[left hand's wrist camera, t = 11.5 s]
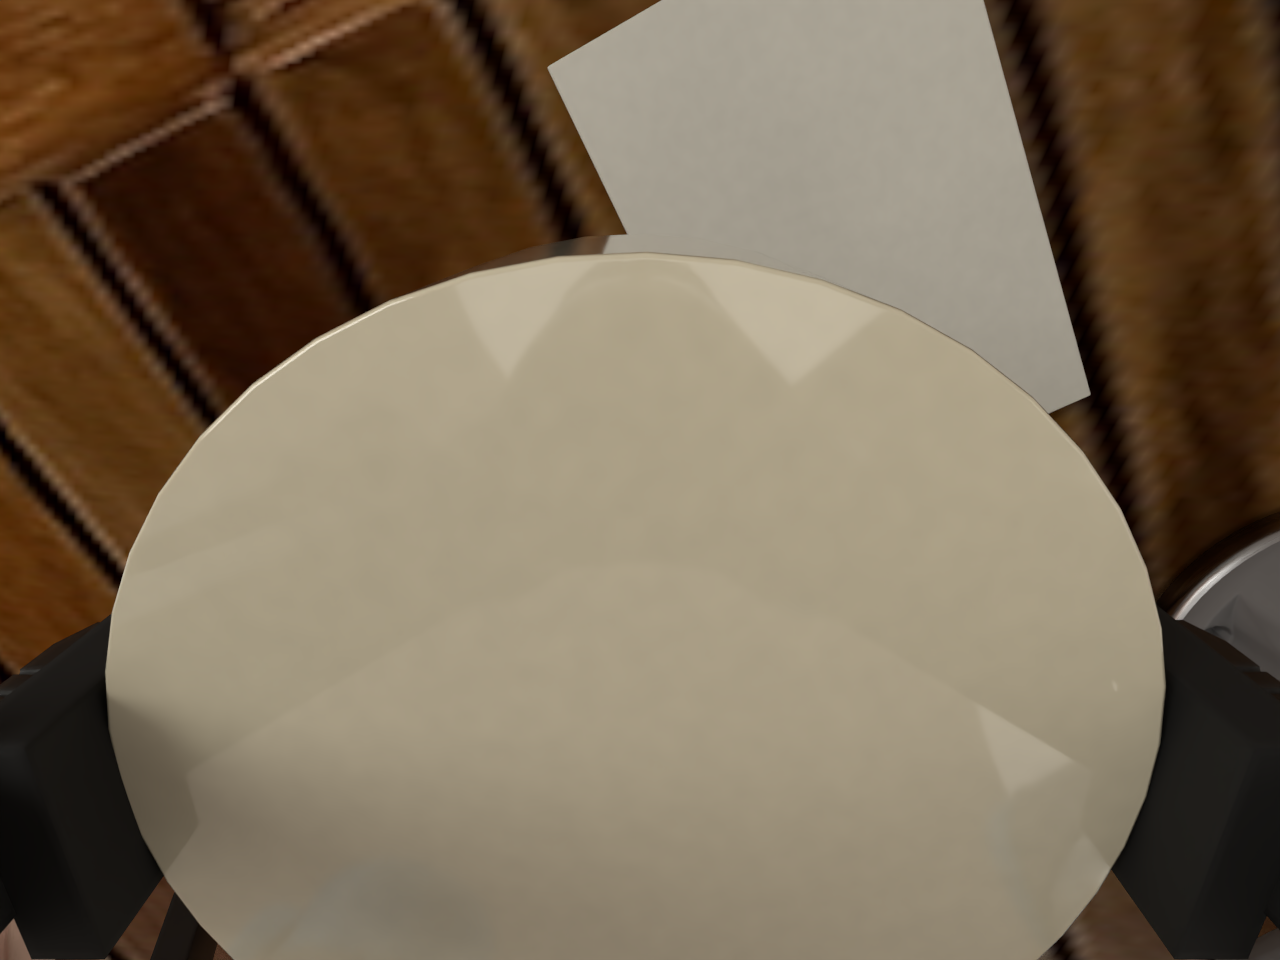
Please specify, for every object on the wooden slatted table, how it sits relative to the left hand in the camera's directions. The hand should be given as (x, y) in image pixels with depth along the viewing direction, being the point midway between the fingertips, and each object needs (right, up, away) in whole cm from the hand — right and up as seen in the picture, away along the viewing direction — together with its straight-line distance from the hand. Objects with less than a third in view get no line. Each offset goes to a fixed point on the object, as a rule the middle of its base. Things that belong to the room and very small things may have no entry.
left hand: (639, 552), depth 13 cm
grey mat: (+8, +10, +15) cm, 20 cm away
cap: (0, -1, -2) cm, 2 cm away
